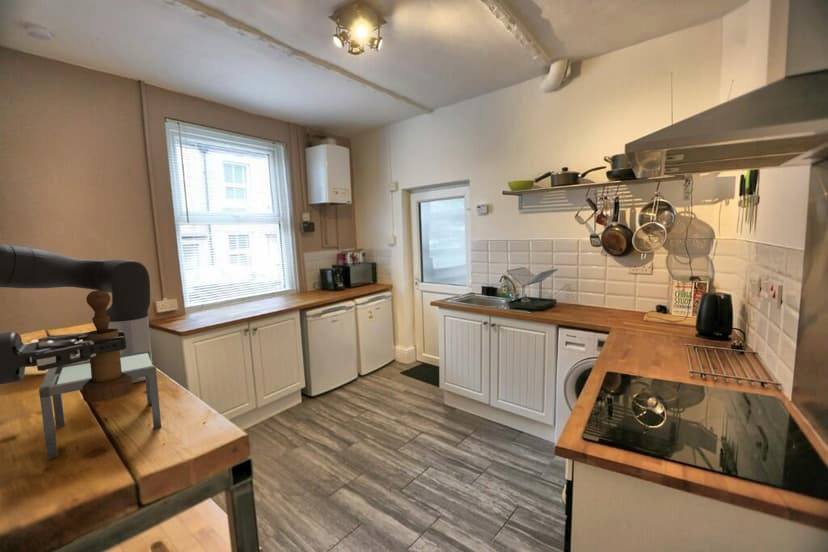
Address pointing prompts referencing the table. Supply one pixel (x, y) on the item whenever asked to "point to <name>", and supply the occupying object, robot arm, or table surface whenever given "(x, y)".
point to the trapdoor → (85, 369)
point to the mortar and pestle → (104, 357)
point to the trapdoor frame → (55, 390)
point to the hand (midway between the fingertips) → (124, 339)
